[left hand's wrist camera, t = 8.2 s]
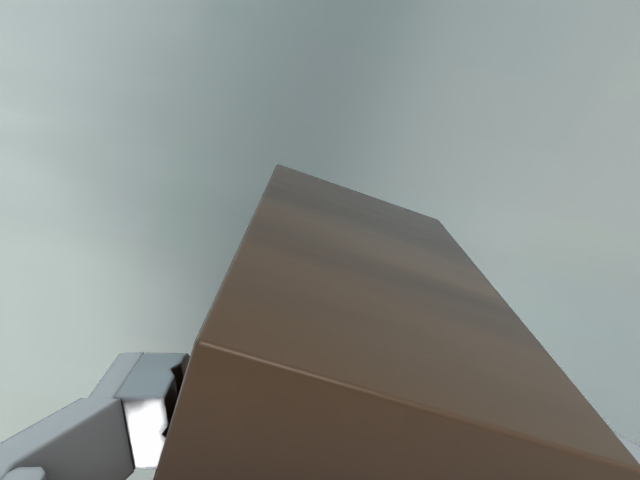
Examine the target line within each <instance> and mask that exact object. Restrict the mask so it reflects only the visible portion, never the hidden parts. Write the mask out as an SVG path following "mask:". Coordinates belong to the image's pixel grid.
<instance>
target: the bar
mask: <svg viewBox="0 0 640 480" xmlns="http://www.w3.org/2000/svg"><path fill="white" fill-rule="evenodd" d="M153 480H640V464H639V463H638V461H637V460H636V459H635V458H634V456H633V455H632V454H631V453H630V452H629V450H628V449H627V448H626V447H625V446H624V444H623V443H622V442H621V441H620V440H619V438H618V437H617V436H616V435H615V433H614V432H613V431H612V430H611V429H610V427H609V426H608V425H607V424H606V423H605V421H604V420H603V419H602V418H601V417H600V415H599V414H598V413H597V412H596V410H595V409H594V408H593V407H592V406H591V404H590V403H589V402H588V401H587V400H586V398H585V397H584V396H583V395H582V394H581V392H580V391H579V390H578V389H577V387H576V386H575V385H574V384H573V383H572V381H571V380H570V379H569V378H568V377H567V375H566V374H565V373H564V372H563V371H562V369H561V368H560V367H559V366H558V364H557V363H556V362H555V361H554V360H553V358H552V357H551V356H550V355H549V354H548V352H547V351H546V350H545V349H544V348H543V346H542V345H541V344H540V343H539V341H538V340H537V339H536V338H535V337H534V335H533V334H532V333H531V332H530V331H529V329H528V328H527V327H526V326H525V325H524V323H523V322H522V321H521V320H520V318H519V317H518V316H517V315H516V314H515V312H514V311H513V310H512V309H511V308H510V306H509V305H508V304H507V303H506V301H505V300H504V299H503V298H502V297H501V295H500V294H499V293H498V292H497V291H496V289H495V288H494V287H493V286H492V285H491V283H490V282H489V281H488V280H487V278H486V277H485V276H484V275H483V274H482V272H481V271H480V270H479V269H478V268H477V266H476V265H475V264H474V263H473V262H472V260H471V259H470V258H469V257H468V255H467V254H466V253H465V252H464V251H463V249H462V248H461V247H460V246H459V245H458V243H457V242H456V241H455V240H454V239H453V237H452V236H451V235H450V234H449V232H448V231H447V230H446V229H445V228H444V226H443V225H442V224H441V223H440V222H439V221H438V220H437V219H434V218H431V217H428V216H425V215H422V214H419V213H417V212H414V211H411V210H408V209H405V208H402V207H399V206H396V205H393V204H391V203H388V202H385V201H382V200H379V199H376V198H373V197H370V196H368V195H365V194H362V193H359V192H356V191H353V190H350V189H347V188H345V187H342V186H339V185H336V184H333V183H330V182H327V181H324V180H322V179H319V178H316V177H313V176H310V175H307V174H304V173H301V172H299V171H296V170H293V169H290V168H287V167H284V166H281V165H277V166H276V168H275V170H274V172H273V174H272V176H271V178H270V180H269V183H268V185H267V187H266V189H265V191H264V193H263V196H262V198H261V200H260V202H259V204H258V206H257V208H256V211H255V213H254V215H253V217H252V219H251V221H250V224H249V226H248V228H247V230H246V232H245V234H244V236H243V239H242V241H241V243H240V245H239V247H238V249H237V252H236V254H235V256H234V258H233V260H232V262H231V265H230V267H229V269H228V271H227V273H226V275H225V277H224V280H223V282H222V284H221V286H220V288H219V290H218V293H217V295H216V297H215V299H214V301H213V303H212V305H211V308H210V310H209V312H208V314H207V316H206V318H205V321H204V323H203V325H202V327H201V329H200V331H199V333H198V336H197V338H196V340H195V342H194V346H193V349H192V352H191V356H190V359H189V362H188V366H187V369H186V372H185V376H184V379H183V382H182V386H181V389H180V392H179V396H178V399H177V402H176V406H175V409H174V412H173V416H172V419H171V422H170V426H169V429H168V432H167V436H166V439H165V442H164V446H163V449H162V452H161V456H160V459H159V462H158V466H157V469H156V472H155V476H154V479H153Z"/></svg>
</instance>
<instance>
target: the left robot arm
mask: <svg viewBox="0 0 640 480" xmlns="http://www.w3.org/2000/svg"><path fill="white" fill-rule="evenodd" d="M189 359H190V356H189V355H188V354H186V353H122V354H119V355H118V357H117V358H116V359H115V361H114V362H113V364H112V365H111V366H110V368H109V369H108V370H107V372H106V373H105V375H104V376H103V377H102V379H101V380H100V382H99V383H98V384H97V386H96V387H95V389H94V390H93V391H92V393H91V394H90V396H89V397H88V398H80V399H79V400H77V401H75V402H73V403H71V404H70V405H68V406H66V407H64V408H62V409H61V410H59V411H57V412H55V413H53V414H52V415H50V416H48V417H46V418H44V419H43V420H41V421H39V422H37V423H35V424H34V425H32V426H30V427H28V428H26V429H25V430H23V431H21V432H19V433H17V434H16V435H14V436H12V437H10V438H8V439H7V440H5V441H3V442H1V443H0V480H126V479H127V478H128V477H129V476H130V475H131V474H132V473H133V472H134V469H157V466H158V462H159V459H160V456H161V452H162V449H163V446H164V442H165V439H166V436H167V432H168V429H169V426H170V422H171V419H172V416H173V412H174V409H175V406H176V402H177V399H178V396H179V392H180V389H181V386H182V382H183V379H184V376H185V372H186V369H187V366H188V362H189ZM614 433H615V432H614ZM615 435H616V436H617V437H618V438H619V440H620V441H621V442H622V443H623V444H624V446H625V447H626V448H627V449H628V450H629V452H630V453H631V454H632V455H633V456H634V458H635V459H636V460H637V461H638V463H639V464H640V446H638V445H636V444H635V443H633V442H631V441H629V440H628V439H626V438H624V437H622V436H620V435H619V434H617V433H615Z"/></svg>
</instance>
